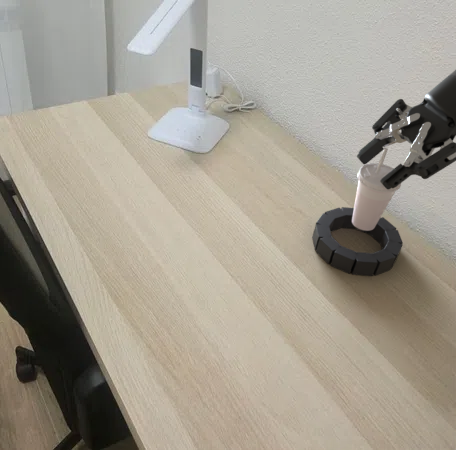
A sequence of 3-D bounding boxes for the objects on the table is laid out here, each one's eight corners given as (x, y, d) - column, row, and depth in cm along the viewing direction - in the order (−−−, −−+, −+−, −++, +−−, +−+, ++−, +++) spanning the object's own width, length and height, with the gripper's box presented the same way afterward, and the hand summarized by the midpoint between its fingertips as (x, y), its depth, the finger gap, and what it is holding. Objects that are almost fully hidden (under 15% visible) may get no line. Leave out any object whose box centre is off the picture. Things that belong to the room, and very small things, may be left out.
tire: (405, 240, 94) (411, 227, 92) (381, 288, 86) (387, 274, 84) (330, 210, 100) (334, 197, 98) (300, 252, 91) (303, 239, 89)
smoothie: (355, 205, 93) (379, 134, 84) (391, 223, 90) (419, 150, 80) (336, 223, 89) (358, 150, 80) (372, 242, 86) (400, 168, 77)
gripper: (429, 54, 80) (336, 134, 85) (498, 101, 70) (388, 189, 75) (446, 85, 85) (357, 159, 90) (515, 133, 74) (409, 213, 79)
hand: (371, 172), depth 82 cm, fingers closed on smoothie, 6 cm apart
